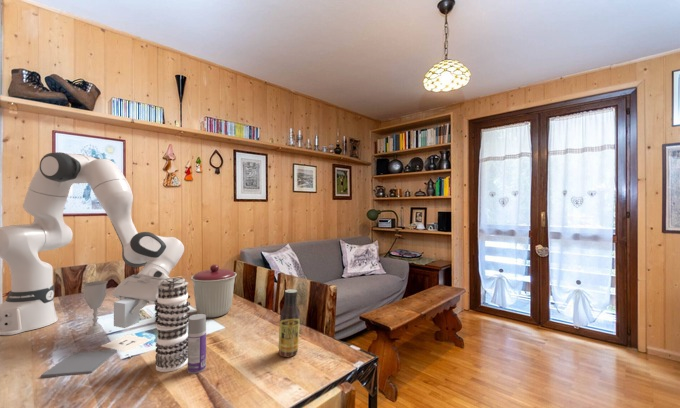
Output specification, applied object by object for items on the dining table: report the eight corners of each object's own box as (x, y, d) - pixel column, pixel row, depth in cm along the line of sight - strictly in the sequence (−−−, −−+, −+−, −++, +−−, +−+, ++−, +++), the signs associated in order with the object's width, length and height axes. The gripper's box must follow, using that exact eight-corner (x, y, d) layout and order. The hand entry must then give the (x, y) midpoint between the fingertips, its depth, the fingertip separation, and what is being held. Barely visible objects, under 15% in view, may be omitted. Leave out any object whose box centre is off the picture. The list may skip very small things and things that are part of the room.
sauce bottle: (279, 359, 89) (279, 294, 89) (277, 349, 95) (278, 288, 95) (300, 356, 91) (301, 292, 91) (298, 347, 97) (298, 287, 97)
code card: (100, 346, 96) (100, 346, 96) (127, 335, 105) (127, 334, 105) (126, 352, 92) (126, 351, 92) (152, 339, 101) (152, 339, 101)
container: (201, 362, 87) (201, 312, 87) (208, 368, 84) (209, 316, 84) (184, 369, 83) (185, 317, 83) (192, 375, 80) (192, 321, 80)
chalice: (92, 337, 102) (92, 286, 102) (76, 335, 104) (77, 285, 104) (112, 329, 110) (112, 281, 110) (97, 327, 111) (98, 280, 111)
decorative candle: (157, 359, 89) (158, 276, 89) (191, 353, 92) (192, 274, 92) (150, 375, 80) (150, 284, 80) (187, 369, 83) (188, 281, 83)
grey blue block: (113, 326, 97) (113, 302, 97) (128, 320, 102) (128, 297, 102) (124, 328, 95) (125, 303, 95) (139, 322, 100) (139, 299, 100)
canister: (180, 319, 119) (181, 268, 119) (208, 304, 136) (208, 259, 136) (221, 323, 115) (221, 270, 115) (244, 307, 133) (244, 261, 133)
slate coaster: (41, 377, 79) (41, 374, 79) (73, 355, 91) (73, 352, 91) (91, 373, 81) (91, 370, 81) (116, 352, 93) (116, 349, 93)
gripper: (125, 269, 108) (95, 304, 99) (168, 274, 102) (141, 312, 93) (136, 278, 112) (109, 312, 103) (178, 283, 106) (153, 320, 97)
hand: (124, 312), depth 98 cm, fingers closed on grey blue block, 5 cm apart
